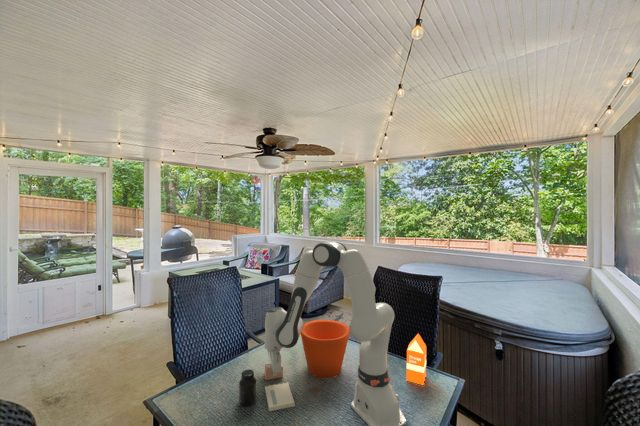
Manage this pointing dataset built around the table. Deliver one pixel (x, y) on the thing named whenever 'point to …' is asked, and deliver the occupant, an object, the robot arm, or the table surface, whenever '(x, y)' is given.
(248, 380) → the supplement bottle
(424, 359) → the orange juice
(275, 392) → the cream flat block
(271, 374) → the pink box
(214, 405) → the table surface
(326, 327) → the flowerpot
